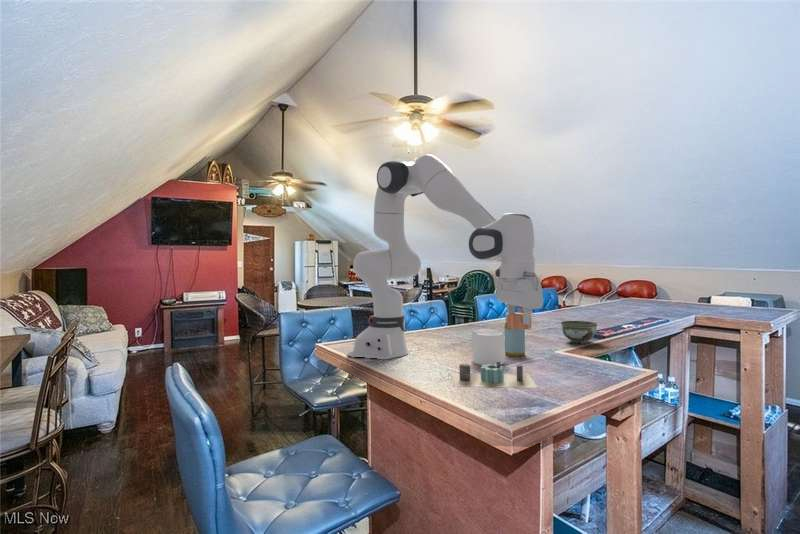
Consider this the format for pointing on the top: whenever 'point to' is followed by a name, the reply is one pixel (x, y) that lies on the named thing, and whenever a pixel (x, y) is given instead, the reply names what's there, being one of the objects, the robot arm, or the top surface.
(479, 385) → the gear board
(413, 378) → the top surface
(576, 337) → the bowl
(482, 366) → the gear
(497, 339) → the mug
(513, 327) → the gear
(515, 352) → the bottle
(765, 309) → the top surface
